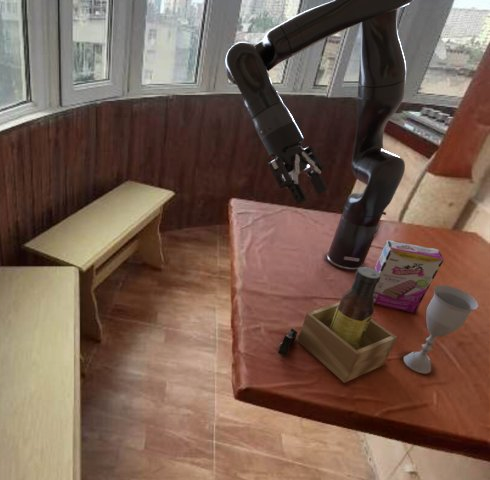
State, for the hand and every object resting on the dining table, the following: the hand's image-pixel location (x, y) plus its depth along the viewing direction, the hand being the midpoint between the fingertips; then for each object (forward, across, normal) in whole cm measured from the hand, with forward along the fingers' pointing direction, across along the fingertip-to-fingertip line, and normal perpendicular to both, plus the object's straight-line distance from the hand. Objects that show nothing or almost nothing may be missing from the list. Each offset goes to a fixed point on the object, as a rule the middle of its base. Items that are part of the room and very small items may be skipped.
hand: (313, 197), depth 88 cm
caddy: (+33, -5, +9) cm, 34 cm away
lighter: (+27, -13, +15) cm, 33 cm away
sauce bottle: (+32, -5, +8) cm, 33 cm away
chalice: (+41, +6, 0) cm, 42 cm away
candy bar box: (+33, +22, +9) cm, 41 cm away
